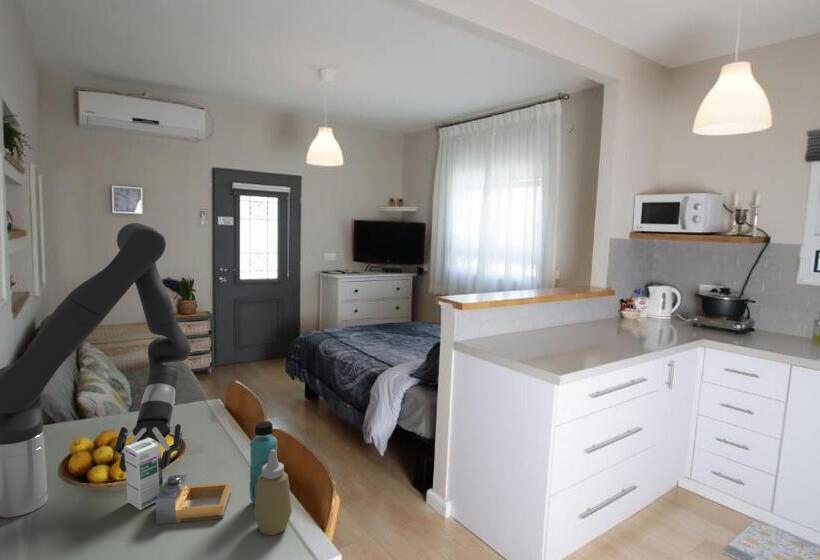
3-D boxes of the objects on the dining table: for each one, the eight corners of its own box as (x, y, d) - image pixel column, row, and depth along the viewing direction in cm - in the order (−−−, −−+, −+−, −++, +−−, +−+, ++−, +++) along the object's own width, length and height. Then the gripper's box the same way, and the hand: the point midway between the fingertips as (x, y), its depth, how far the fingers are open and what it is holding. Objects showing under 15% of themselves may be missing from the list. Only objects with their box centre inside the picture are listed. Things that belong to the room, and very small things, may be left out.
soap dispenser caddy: (156, 524, 104) (155, 495, 104) (170, 498, 114) (169, 472, 113) (223, 518, 107) (222, 490, 106) (230, 494, 117) (230, 468, 116)
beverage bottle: (243, 506, 112) (242, 426, 110) (262, 492, 118) (261, 416, 116) (266, 513, 109) (265, 431, 107) (283, 498, 116) (283, 421, 113)
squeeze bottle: (281, 542, 100) (281, 462, 98) (247, 536, 101) (246, 457, 99) (298, 519, 108) (298, 444, 106) (265, 514, 109) (265, 440, 107)
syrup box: (140, 511, 109) (137, 453, 107) (126, 501, 112) (123, 445, 110) (164, 498, 114) (161, 443, 112) (150, 490, 117) (148, 435, 115)
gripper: (122, 400, 117) (104, 467, 107) (183, 397, 120) (172, 462, 110) (131, 412, 123) (115, 477, 113) (189, 409, 126) (179, 472, 116)
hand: (143, 470), depth 111 cm, fingers open, 8 cm apart
